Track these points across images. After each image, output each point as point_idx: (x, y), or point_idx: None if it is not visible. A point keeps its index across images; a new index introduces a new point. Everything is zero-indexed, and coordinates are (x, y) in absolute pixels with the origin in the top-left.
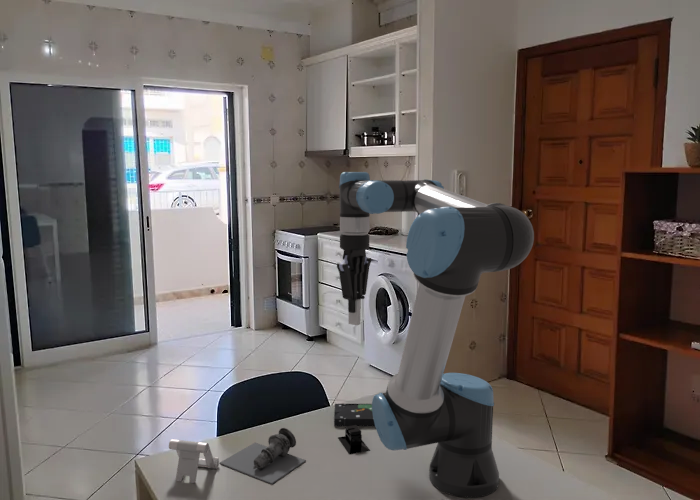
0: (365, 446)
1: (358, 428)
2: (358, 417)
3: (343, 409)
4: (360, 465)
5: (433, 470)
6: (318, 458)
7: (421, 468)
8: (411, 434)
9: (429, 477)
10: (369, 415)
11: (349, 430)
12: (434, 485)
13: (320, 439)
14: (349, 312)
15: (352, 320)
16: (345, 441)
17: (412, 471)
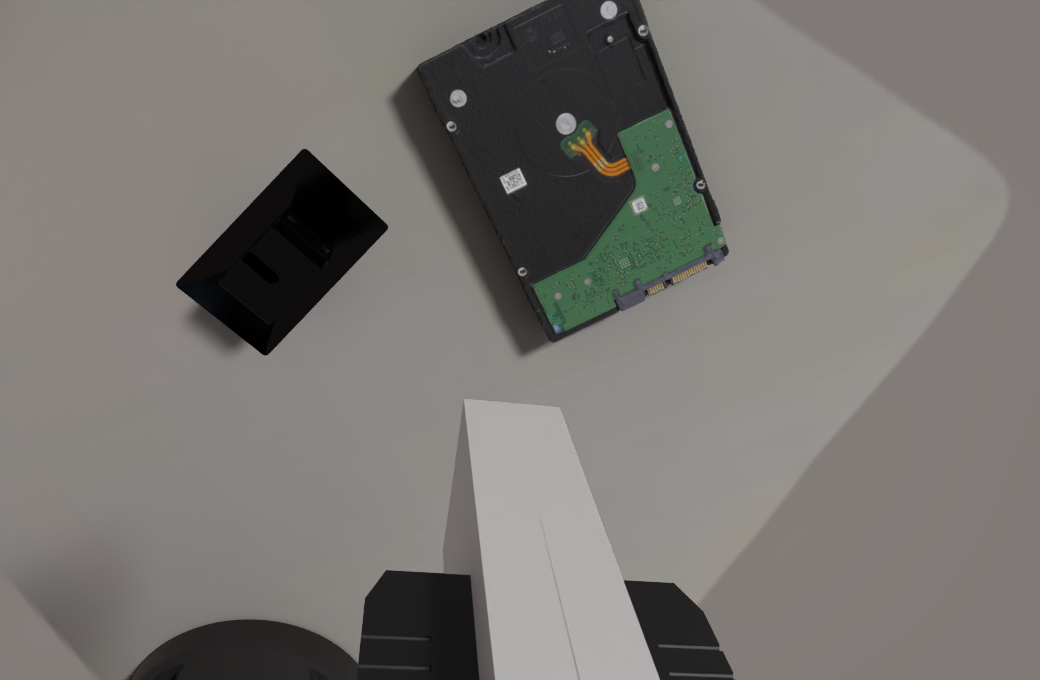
0: (286, 321)
1: (286, 300)
2: (498, 192)
3: (563, 58)
4: (115, 373)
5: (164, 678)
6: (48, 166)
7: (242, 583)
8: None
9: (181, 636)
10: (548, 237)
11: (237, 268)
12: (142, 664)
13: (234, 71)
14: (476, 528)
15: (455, 507)
16: (272, 215)
17: (200, 564)
